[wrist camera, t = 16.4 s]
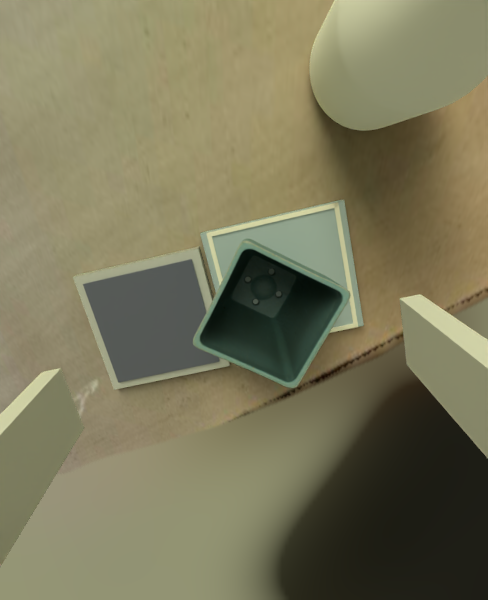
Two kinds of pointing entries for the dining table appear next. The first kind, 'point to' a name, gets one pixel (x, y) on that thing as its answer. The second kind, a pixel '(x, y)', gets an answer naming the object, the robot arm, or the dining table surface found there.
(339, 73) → the wine bottle
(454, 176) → the dining table surface
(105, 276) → the ink pad
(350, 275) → the board
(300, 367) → the flower pot
